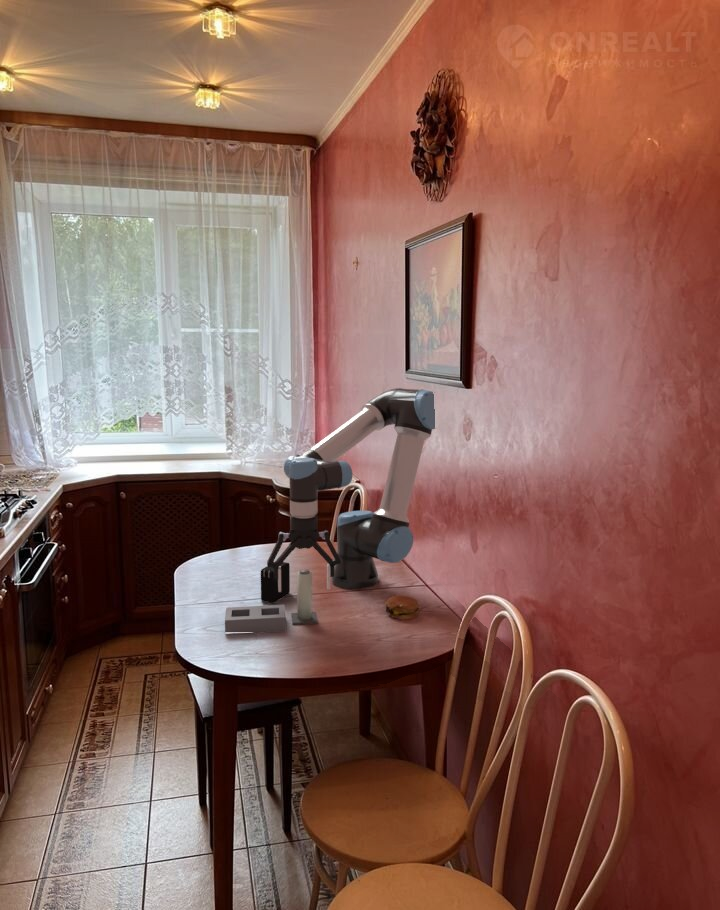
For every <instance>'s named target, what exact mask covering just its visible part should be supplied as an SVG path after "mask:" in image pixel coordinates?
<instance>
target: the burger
mask: <svg viewBox="0 0 720 910" xmlns="http://www.w3.org/2000/svg"><path fill="white" fill-rule="evenodd" d="M384 605H385V612H386V613H387V614H388V616H390V617H391V618H393V619H394V618H396V619H398V620H399V621H409V620H413V619H415V618H416V617H417V615H418V614H419V612H420V610H421V608H420V607H419V605H420V604H419V601H418V600H417V599H415V598H414V597H411V596H409V595H402V594H399V595H394V596H391V597H390V598H388V599H387V600H386V602H385V604H384Z"/></svg>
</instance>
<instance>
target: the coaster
mask: <svg viewBox="0 0 720 910" xmlns="http://www.w3.org/2000/svg"><path fill="white" fill-rule="evenodd" d="M290 615H291V622H292V623H291V625H292V626H296V625H298V626H299V625H300V626H301V625H313V624H314V625H315V624H316V625H317V624H319V620H318V616H317V615H318V614H317V611H312V618H311V619H309V620H300V619H298V618H297V612H291V613H290Z"/></svg>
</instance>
